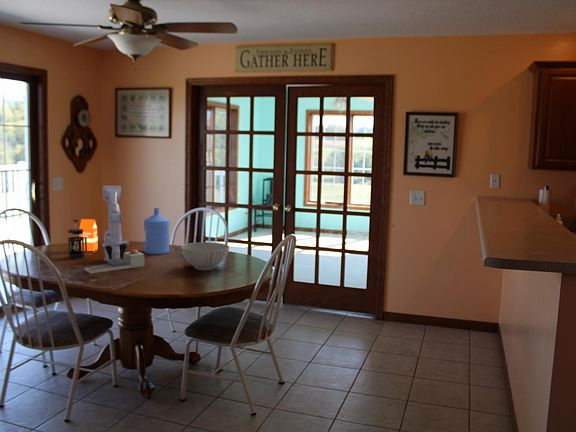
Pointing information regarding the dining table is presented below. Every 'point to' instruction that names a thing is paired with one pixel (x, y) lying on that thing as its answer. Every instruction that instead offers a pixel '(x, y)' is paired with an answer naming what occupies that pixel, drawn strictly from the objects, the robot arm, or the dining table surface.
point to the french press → (73, 253)
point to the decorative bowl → (205, 254)
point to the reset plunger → (133, 251)
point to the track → (129, 262)
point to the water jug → (156, 234)
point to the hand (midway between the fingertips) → (116, 258)
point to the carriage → (116, 259)
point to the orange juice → (89, 234)
